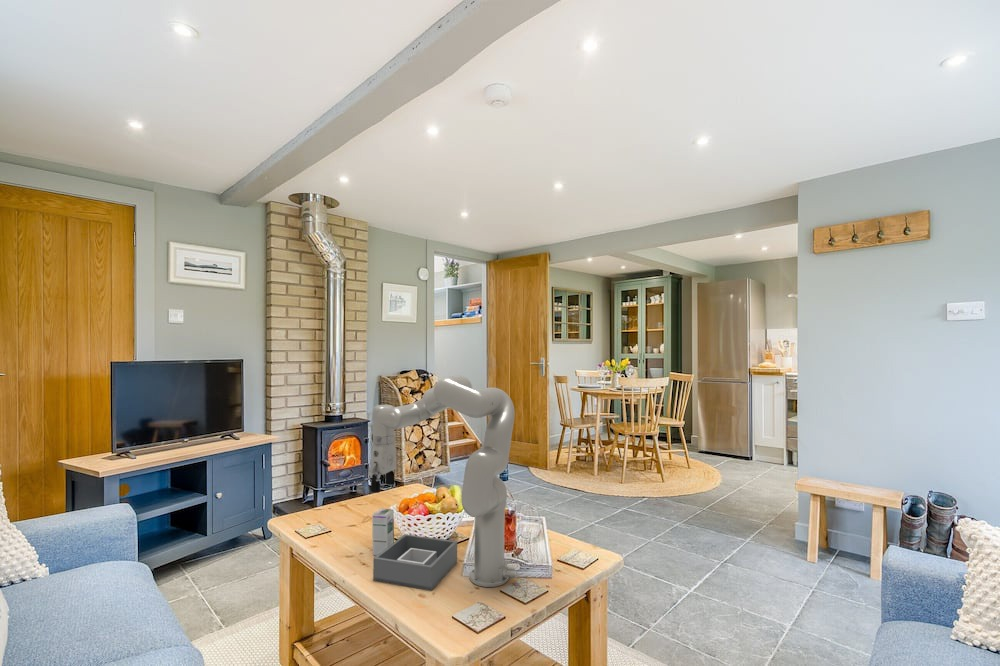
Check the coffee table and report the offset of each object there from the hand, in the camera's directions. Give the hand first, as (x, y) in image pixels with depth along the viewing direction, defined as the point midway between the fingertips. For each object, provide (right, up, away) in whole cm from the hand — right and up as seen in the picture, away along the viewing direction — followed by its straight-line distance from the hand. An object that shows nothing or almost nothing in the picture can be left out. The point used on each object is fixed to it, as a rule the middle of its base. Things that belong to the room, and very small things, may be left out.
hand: (382, 488), depth 174 cm
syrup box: (0, -23, 0) cm, 23 cm away
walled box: (+15, -23, -15) cm, 31 cm away
